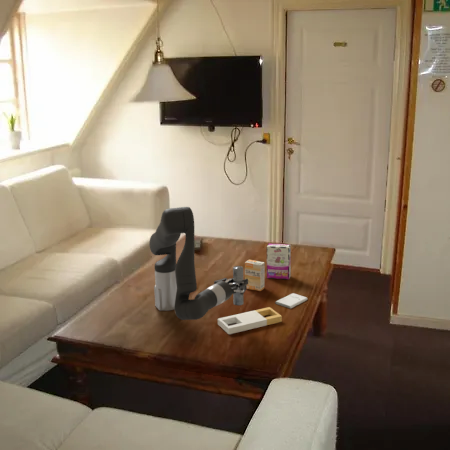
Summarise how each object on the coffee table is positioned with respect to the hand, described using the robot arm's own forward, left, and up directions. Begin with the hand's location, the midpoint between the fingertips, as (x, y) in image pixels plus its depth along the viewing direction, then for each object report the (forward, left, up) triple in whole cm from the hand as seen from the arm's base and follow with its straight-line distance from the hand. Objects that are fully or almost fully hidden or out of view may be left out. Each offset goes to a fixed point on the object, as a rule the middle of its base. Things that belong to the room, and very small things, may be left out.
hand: (242, 279), depth 230 cm
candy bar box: (+39, +37, -19) cm, 57 cm away
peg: (-3, -1, -9) cm, 9 cm away
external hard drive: (+29, +9, -19) cm, 36 cm away
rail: (+3, -1, -19) cm, 19 cm away
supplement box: (+22, +30, -19) cm, 41 cm away
